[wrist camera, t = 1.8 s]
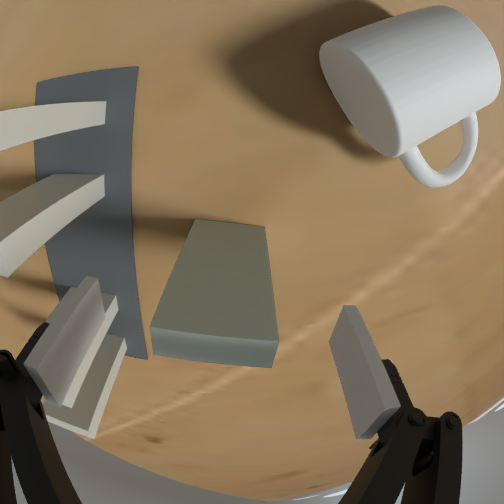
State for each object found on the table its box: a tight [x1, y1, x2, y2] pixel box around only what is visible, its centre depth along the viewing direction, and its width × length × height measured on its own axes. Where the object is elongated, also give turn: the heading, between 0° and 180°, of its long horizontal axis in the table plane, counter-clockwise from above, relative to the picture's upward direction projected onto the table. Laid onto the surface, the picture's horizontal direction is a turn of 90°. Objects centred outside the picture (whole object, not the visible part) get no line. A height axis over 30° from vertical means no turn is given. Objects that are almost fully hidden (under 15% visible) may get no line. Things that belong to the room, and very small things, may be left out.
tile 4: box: [42, 287, 119, 408], centre depth 20 cm, size 2×5×12 cm, turn 83°
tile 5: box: [43, 334, 127, 439], centre depth 22 cm, size 2×5×12 cm, turn 82°
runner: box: [35, 66, 148, 360], centre depth 22 cm, size 29×10×1 cm, turn 173°
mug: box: [319, 6, 501, 187], centre depth 13 cm, size 12×10×8 cm
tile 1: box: [0, 101, 106, 151], centre depth 11 cm, size 2×5×12 cm, turn 83°
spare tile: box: [150, 219, 279, 368], centre depth 17 cm, size 2×5×12 cm, turn 83°
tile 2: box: [0, 174, 105, 277], centre depth 14 cm, size 2×5×12 cm, turn 82°
